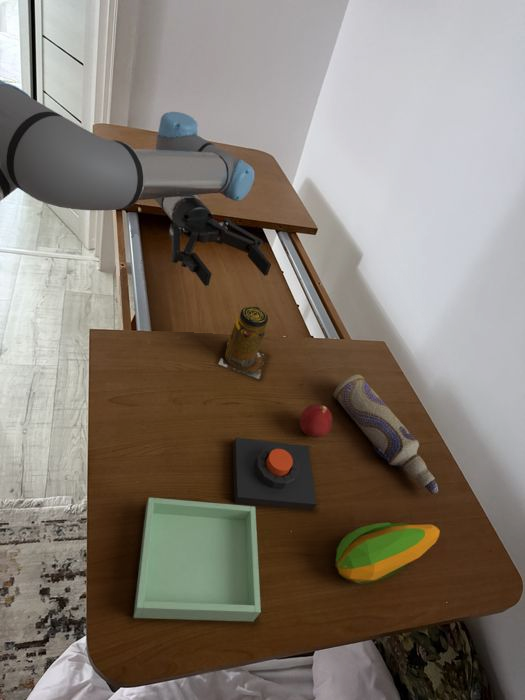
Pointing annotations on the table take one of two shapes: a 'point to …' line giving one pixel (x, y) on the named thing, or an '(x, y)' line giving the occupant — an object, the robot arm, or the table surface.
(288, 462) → the button
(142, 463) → the table surface
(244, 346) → the condiment
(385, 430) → the decorative bottle
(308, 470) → the button base
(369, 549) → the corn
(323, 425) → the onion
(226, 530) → the mint green tray
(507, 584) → the table surface
